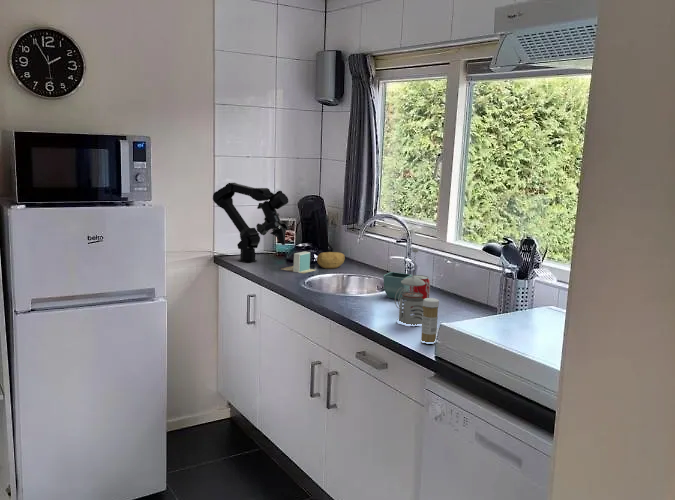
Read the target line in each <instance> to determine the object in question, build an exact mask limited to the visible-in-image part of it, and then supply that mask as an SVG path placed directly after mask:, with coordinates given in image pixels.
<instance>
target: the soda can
mask: <svg viewBox="0 0 675 500" xmlns="http://www.w3.org/2000/svg"><path fill="white" fill-rule="evenodd" d="M414 277H415V278H419V279H421V280H423V281H424V282H425V283H426V284H425V285H423V286H410V288H409V292H412V287H413V292H416V293H421V294H423V297H421V298H423V299H425V298H430V294H431V293H430V291H431V282H430V279H429V276H428V275H424V274H423V275H422V274H414ZM413 307H415V306H411V308H413ZM423 308H424V307H423Z"/></svg>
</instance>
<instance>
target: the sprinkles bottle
mask: <svg viewBox="0 0 675 500" xmlns="http://www.w3.org/2000/svg"><path fill="white" fill-rule="evenodd" d="M423 305H424V306H423V307H424V308H423V314H422V315H423V318H422V326H421V339H420V341H421V340H422V341H425V342H434V341H435V339H437V329H438V317H439V316H438V312H439V305H440V300H439V299H438V298H435V297H429V298H425V299H424V300H423Z"/></svg>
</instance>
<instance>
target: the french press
mask: <svg viewBox="0 0 675 500" xmlns="http://www.w3.org/2000/svg"><path fill="white" fill-rule="evenodd" d="M412 252H413V253H414V254H417V253H419V249H418V248H414V247H413V249H412ZM413 262H414V263H413V269H415V264H416V257H414V261H413ZM414 275H415V272H412V277H410V278H406V279H404V280H402V281H401V283H402V284H403V285H407V286H423V285H425V284H426V283H425V282H424V281H423V280H421V279H419V278H415V277H414ZM401 288H402V287H401ZM399 289H400V288H399ZM399 289H398V291H399ZM404 289H405V291H403V290H404ZM404 289H403V288H402V291H403V293H402V296H403V297H401V298H400V299H399V298H398V299H396V295H395V299H394V304H395V307H396V308H397V309H399V310H398V313H399V314H398V319H399V321H401V322H403V323H406V324H411V325H412V324H413V325H415V324H416V325H417V324H422V318H423V306H424V305H423V300H424V299H423V298H421V297H423V294H421V293H416V292H413V287H412V292H410V291H408V292H406V288H404ZM398 291H397V292H398ZM402 291H401V292H402ZM396 294H397V293H396ZM400 294H401V293H400ZM400 294H399V297H400ZM396 300H397V301H396ZM397 304H398V306H397ZM411 306H415V307H413V308H411ZM414 310H415V311H414Z"/></svg>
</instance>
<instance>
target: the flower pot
mask: <svg viewBox="0 0 675 500" xmlns="http://www.w3.org/2000/svg"><path fill="white" fill-rule="evenodd" d="M382 276H383V277H382V278H383V288H384V292H385V294H386V296H387V298H389V299H394V300H395V295H396V300H398V298H399V300H400V298H401V297H403V296H402V293H403V291H405V289H404V288H406V292H410V286H407V285H403V284H402V283H401V281H402V280H404V279H406V278H410V277H413V274H409V273H403V272H395V271H394V272H393V271H390V272H388V273H385V274H384V275H382ZM401 287H402V288H403V289H404V290H403V291H402V288H401ZM399 288H400V289H399ZM398 289H399V291H398ZM397 291H398V292H397ZM401 291H402V292H401ZM396 293H397V294H396ZM400 293H401V294H400ZM399 294H400V297H399Z"/></svg>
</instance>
